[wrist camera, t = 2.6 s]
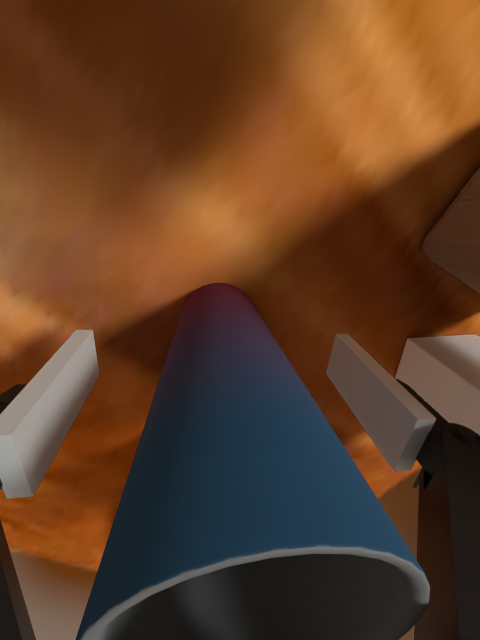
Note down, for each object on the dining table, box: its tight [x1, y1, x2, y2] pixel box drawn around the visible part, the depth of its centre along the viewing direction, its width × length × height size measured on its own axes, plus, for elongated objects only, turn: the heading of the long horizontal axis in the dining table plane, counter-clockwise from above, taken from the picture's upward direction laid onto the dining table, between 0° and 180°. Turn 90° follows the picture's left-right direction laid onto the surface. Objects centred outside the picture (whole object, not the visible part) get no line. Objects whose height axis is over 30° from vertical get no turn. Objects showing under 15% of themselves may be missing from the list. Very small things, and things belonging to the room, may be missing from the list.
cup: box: [76, 283, 430, 640], centre depth 12 cm, size 7×7×15 cm
